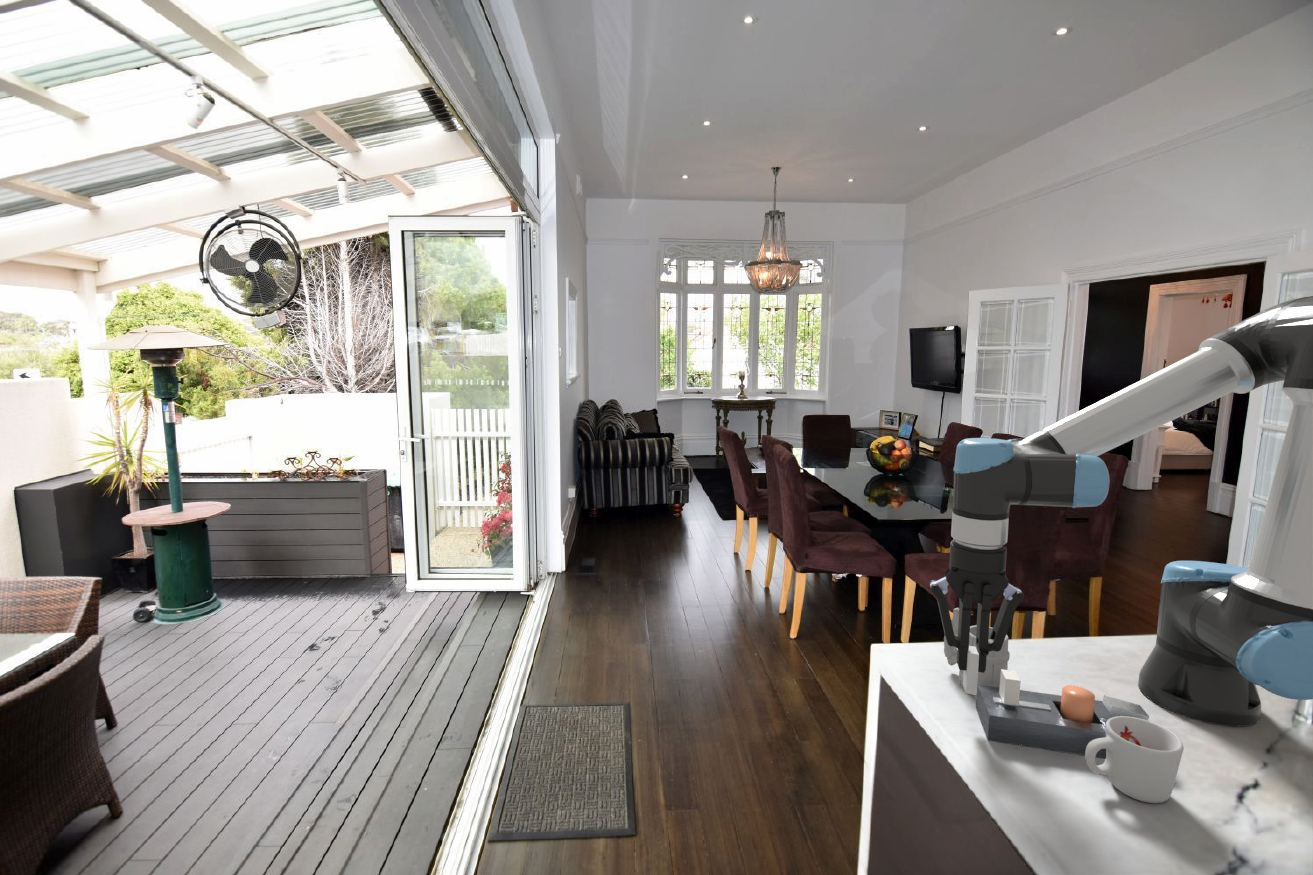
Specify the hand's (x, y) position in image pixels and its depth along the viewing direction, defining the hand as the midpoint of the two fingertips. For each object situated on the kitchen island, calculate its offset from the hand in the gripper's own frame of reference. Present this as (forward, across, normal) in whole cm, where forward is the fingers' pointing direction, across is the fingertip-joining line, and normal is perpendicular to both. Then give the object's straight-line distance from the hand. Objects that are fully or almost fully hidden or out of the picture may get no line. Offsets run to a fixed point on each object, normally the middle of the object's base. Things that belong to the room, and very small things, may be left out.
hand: (969, 689), depth 96 cm
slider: (+1, -5, 0) cm, 5 cm away
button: (+3, -14, 0) cm, 15 cm away
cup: (+6, -17, +11) cm, 21 cm away
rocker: (0, -20, 0) cm, 20 cm away
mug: (+6, -3, -13) cm, 14 cm away
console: (+5, -12, 0) cm, 13 cm away
